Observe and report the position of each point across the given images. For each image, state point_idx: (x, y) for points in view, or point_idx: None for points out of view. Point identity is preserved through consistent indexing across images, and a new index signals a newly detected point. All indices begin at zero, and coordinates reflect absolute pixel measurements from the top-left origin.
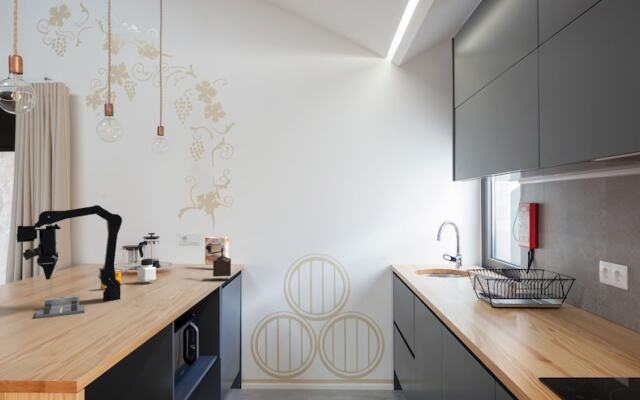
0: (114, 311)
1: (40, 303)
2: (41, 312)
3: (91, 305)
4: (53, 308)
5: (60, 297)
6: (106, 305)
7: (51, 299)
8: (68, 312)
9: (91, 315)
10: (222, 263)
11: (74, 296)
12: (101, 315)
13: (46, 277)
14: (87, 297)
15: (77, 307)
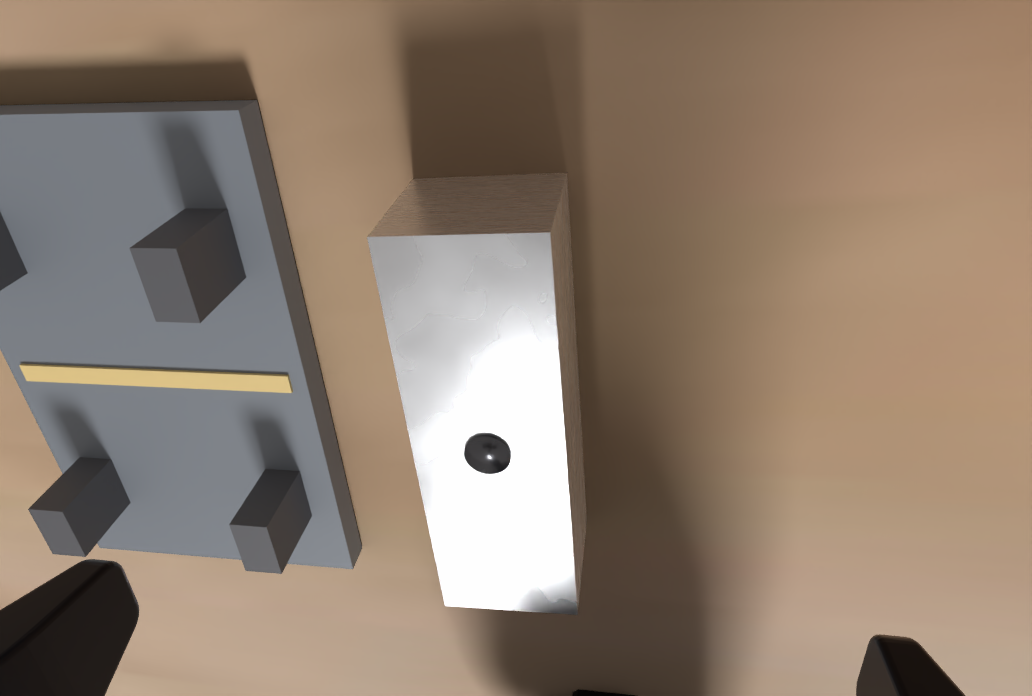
0: (117, 681)
1: (988, 66)
2: (73, 176)
3: (414, 598)
4: (268, 302)
5: (514, 434)
6: (356, 677)
7: (409, 326)
8: (48, 433)
9: (13, 558)
10: None
11: (492, 571)
12: (4, 607)
13: (18, 618)
14: (909, 616)
15: (236, 512)
